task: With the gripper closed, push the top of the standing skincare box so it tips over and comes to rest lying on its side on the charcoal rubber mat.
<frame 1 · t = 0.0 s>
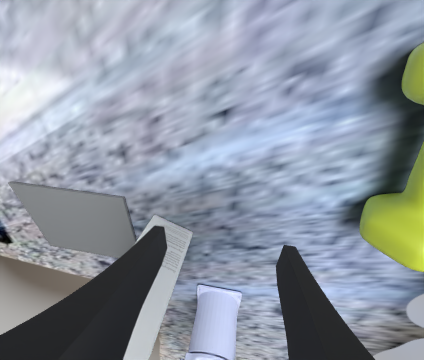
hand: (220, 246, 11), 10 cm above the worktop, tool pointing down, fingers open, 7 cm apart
skincare box: (165, 236, 28), on the worktop
dumbbell: (406, 145, 16), on the worktop
charcoal rubber mat: (82, 224, 29), on the worktop
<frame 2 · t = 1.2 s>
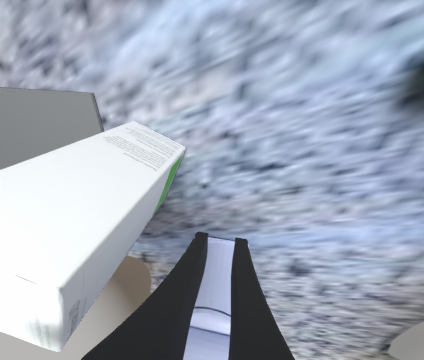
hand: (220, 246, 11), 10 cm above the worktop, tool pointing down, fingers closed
skincare box: (151, 160, 21), on the worktop
charcoal rubber mat: (45, 150, 23), on the worktop
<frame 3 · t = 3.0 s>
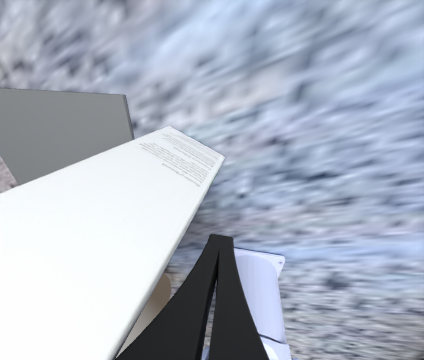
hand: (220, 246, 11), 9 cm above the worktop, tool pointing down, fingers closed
skincare box: (183, 169, 19), on the worktop, touching gripper
charcoal rubber mat: (66, 157, 21), on the worktop
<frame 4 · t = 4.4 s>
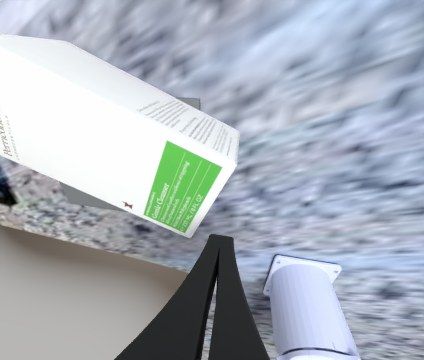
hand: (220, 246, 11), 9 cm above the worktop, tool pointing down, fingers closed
skincare box: (220, 183, 15), point 3 cm above the worktop, touching charcoal rubber mat
charcoal rubber mat: (120, 162, 20), on the worktop
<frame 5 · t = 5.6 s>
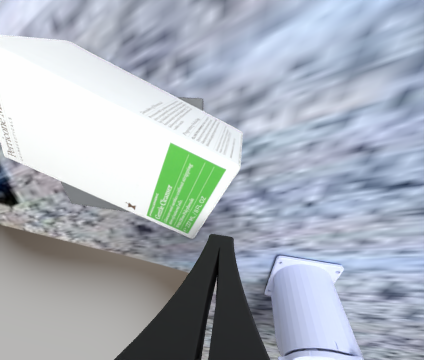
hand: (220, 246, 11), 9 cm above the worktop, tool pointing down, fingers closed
skincare box: (223, 183, 15), point 3 cm above the worktop, touching charcoal rubber mat
charcoal rubber mat: (122, 162, 20), on the worktop
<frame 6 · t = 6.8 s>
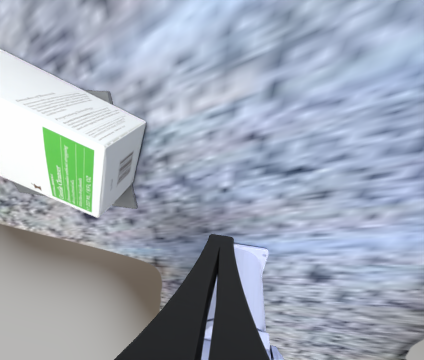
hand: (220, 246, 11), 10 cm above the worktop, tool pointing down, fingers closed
skincare box: (127, 168, 17), point 3 cm above the worktop, touching charcoal rubber mat
charcoal rubber mat: (56, 152, 22), on the worktop
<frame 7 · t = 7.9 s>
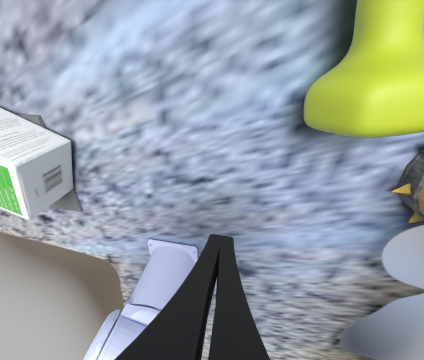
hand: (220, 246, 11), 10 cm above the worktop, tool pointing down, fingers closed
skincare box: (55, 179, 20), point 3 cm above the worktop, touching charcoal rubber mat
charcoal rubber mat: (7, 163, 25), on the worktop
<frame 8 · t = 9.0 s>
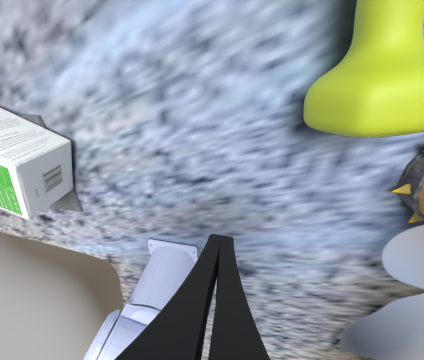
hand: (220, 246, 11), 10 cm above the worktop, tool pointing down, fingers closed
skincare box: (55, 179, 20), point 3 cm above the worktop, touching charcoal rubber mat
charcoal rubber mat: (7, 163, 25), on the worktop
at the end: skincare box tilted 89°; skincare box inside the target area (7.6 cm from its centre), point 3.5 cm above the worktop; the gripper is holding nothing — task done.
